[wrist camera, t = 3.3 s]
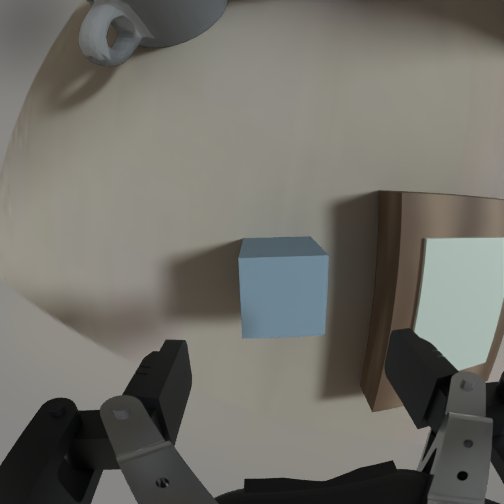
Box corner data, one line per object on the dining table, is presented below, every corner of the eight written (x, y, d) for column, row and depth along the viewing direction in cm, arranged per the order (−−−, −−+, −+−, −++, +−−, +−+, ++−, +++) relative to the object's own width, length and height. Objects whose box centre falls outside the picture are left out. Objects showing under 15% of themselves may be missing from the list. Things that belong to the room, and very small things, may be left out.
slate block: (310, 236, 22) (328, 255, 16) (309, 298, 23) (324, 334, 17) (243, 238, 22) (238, 258, 16) (246, 301, 23) (242, 338, 18)
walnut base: (497, 198, 21) (527, 203, 17) (469, 362, 25) (488, 382, 21) (378, 190, 21) (403, 192, 17) (360, 385, 25) (373, 414, 21)
